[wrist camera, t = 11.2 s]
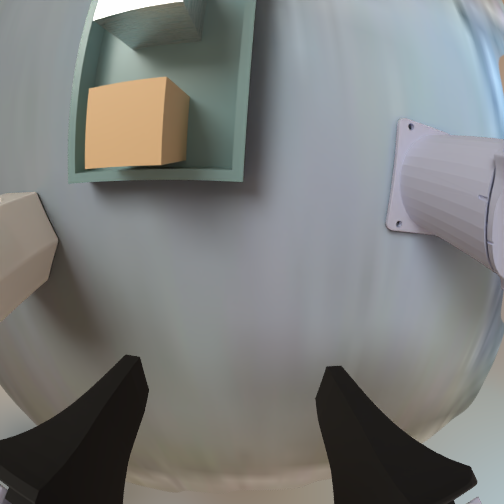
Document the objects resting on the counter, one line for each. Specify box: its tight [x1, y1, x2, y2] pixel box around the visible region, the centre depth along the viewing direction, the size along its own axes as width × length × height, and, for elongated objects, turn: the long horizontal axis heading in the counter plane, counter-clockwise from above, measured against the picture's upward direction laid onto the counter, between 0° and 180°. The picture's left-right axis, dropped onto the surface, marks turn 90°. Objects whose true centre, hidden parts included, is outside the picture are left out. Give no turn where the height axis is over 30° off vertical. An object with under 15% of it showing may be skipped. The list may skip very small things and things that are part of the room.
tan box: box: [85, 77, 190, 169], centre depth 12 cm, size 4×4×5 cm
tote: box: [68, 0, 256, 184], centre depth 12 cm, size 11×15×2 cm
